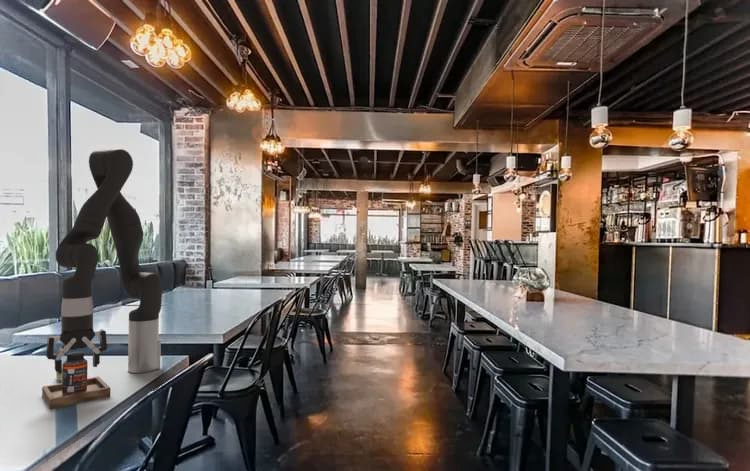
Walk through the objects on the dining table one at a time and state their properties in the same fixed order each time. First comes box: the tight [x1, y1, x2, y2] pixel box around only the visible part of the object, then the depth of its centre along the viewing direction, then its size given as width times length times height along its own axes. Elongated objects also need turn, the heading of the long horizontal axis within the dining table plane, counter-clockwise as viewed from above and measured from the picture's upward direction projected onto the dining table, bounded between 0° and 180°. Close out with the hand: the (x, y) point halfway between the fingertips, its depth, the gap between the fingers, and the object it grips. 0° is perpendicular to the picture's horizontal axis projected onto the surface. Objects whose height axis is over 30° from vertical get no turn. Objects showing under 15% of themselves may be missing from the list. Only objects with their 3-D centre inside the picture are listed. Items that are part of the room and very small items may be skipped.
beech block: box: [55, 364, 63, 381], centre depth 144 cm, size 5×4×4 cm
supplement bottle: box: [62, 351, 89, 395], centre depth 127 cm, size 6×6×11 cm
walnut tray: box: [41, 376, 111, 410], centre depth 127 cm, size 14×14×2 cm
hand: (77, 369), depth 127 cm, fingers open, 8 cm apart
